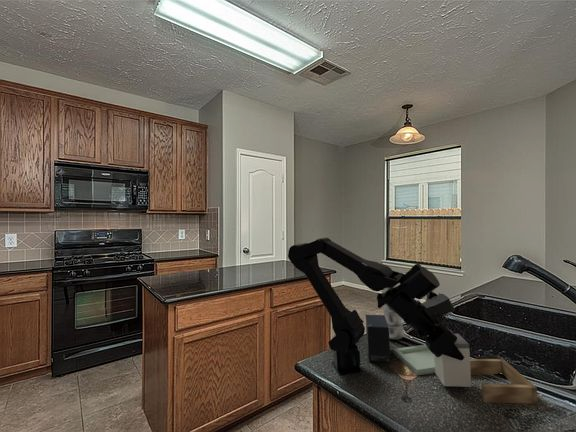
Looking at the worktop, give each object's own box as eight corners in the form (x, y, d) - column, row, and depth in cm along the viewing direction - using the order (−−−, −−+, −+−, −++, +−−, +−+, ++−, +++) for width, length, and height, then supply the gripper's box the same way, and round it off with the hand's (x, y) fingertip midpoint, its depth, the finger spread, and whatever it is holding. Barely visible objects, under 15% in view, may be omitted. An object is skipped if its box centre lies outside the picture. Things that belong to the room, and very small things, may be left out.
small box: (392, 363, 85) (389, 326, 85) (368, 362, 86) (366, 326, 86) (387, 346, 95) (385, 314, 95) (366, 346, 96) (364, 314, 96)
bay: (485, 402, 66) (484, 386, 66) (460, 372, 78) (459, 358, 78) (537, 403, 64) (536, 387, 64) (504, 372, 77) (503, 359, 77)
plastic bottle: (398, 344, 96) (395, 282, 96) (379, 338, 101) (376, 280, 101) (407, 337, 101) (404, 278, 101) (389, 332, 106) (386, 276, 106)
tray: (417, 375, 78) (417, 369, 78) (393, 354, 90) (393, 349, 90) (459, 368, 80) (459, 363, 80) (430, 348, 92) (430, 343, 92)
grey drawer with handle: (444, 386, 70) (441, 341, 70) (435, 372, 76) (432, 331, 76) (471, 386, 69) (469, 341, 69) (460, 372, 75) (458, 331, 75)
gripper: (444, 295, 64) (503, 346, 62) (419, 276, 82) (464, 315, 81) (408, 331, 65) (465, 383, 63) (391, 304, 83) (434, 344, 82)
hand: (457, 352), depth 72 cm, fingers closed on grey drawer with handle, 6 cm apart
